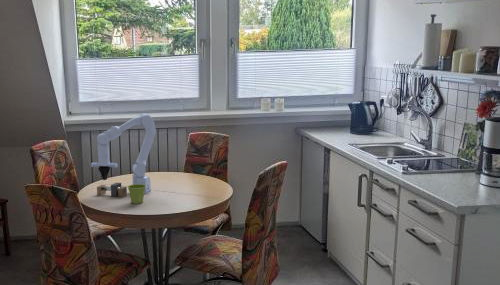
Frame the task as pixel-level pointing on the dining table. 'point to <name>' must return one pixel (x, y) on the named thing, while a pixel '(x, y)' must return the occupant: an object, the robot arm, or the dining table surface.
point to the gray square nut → (115, 189)
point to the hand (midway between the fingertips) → (105, 179)
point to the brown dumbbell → (103, 188)
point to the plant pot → (136, 193)
